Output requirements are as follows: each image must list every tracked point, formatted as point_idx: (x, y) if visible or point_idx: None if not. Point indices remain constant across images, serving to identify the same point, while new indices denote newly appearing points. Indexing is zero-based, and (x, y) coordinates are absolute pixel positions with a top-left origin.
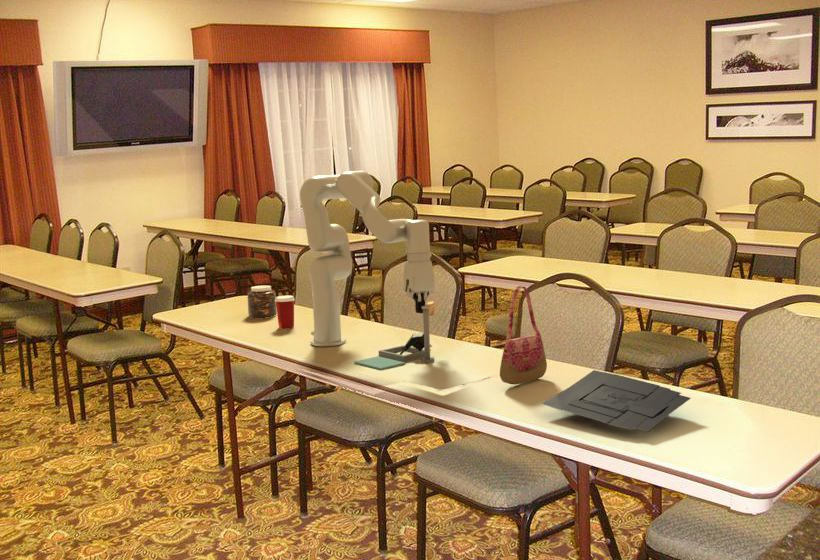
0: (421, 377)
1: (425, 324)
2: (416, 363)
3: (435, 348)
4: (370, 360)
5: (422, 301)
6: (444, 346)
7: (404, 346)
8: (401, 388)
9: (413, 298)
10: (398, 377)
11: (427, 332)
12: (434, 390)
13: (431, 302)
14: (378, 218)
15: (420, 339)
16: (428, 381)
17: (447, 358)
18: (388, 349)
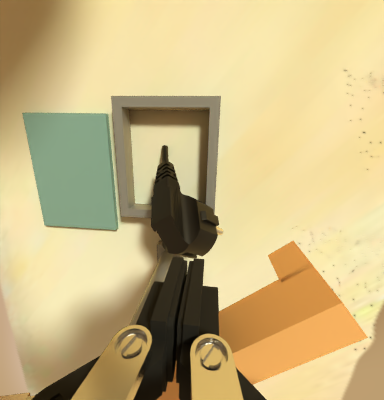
0: (80, 321)
1: None
2: (143, 241)
3: (308, 155)
4: (63, 140)
5: (164, 390)
6: (349, 156)
7: (161, 171)
8: (17, 337)
9: (82, 376)
10: (47, 290)
11: None
12: (52, 377)
13: (308, 345)
14: None
15: (165, 249)
16: (74, 344)
17: (227, 264)
18: (145, 107)
